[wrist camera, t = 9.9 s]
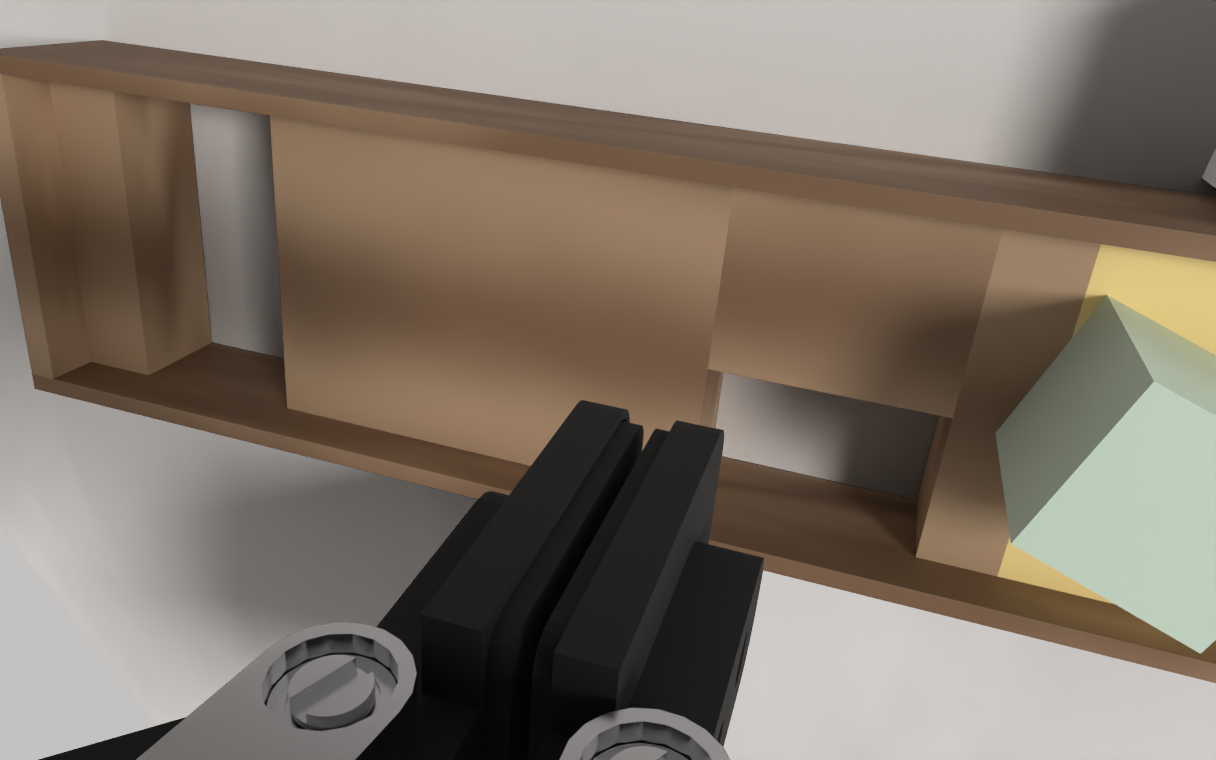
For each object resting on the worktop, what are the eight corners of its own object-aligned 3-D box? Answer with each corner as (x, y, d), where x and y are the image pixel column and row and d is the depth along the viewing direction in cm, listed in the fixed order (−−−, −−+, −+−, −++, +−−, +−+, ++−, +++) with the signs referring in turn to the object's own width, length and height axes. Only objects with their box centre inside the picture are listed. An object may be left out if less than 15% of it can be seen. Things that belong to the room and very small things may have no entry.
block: (1106, 294, 21) (1154, 381, 16) (1274, 387, 20) (1368, 501, 16) (995, 433, 23) (1010, 543, 18) (1147, 520, 22) (1200, 653, 18)
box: (102, 40, 29) (-27, 51, 26) (1405, 222, 21) (1514, 279, 17) (140, 339, 34) (34, 388, 30) (1241, 589, 25) (1299, 703, 21)
